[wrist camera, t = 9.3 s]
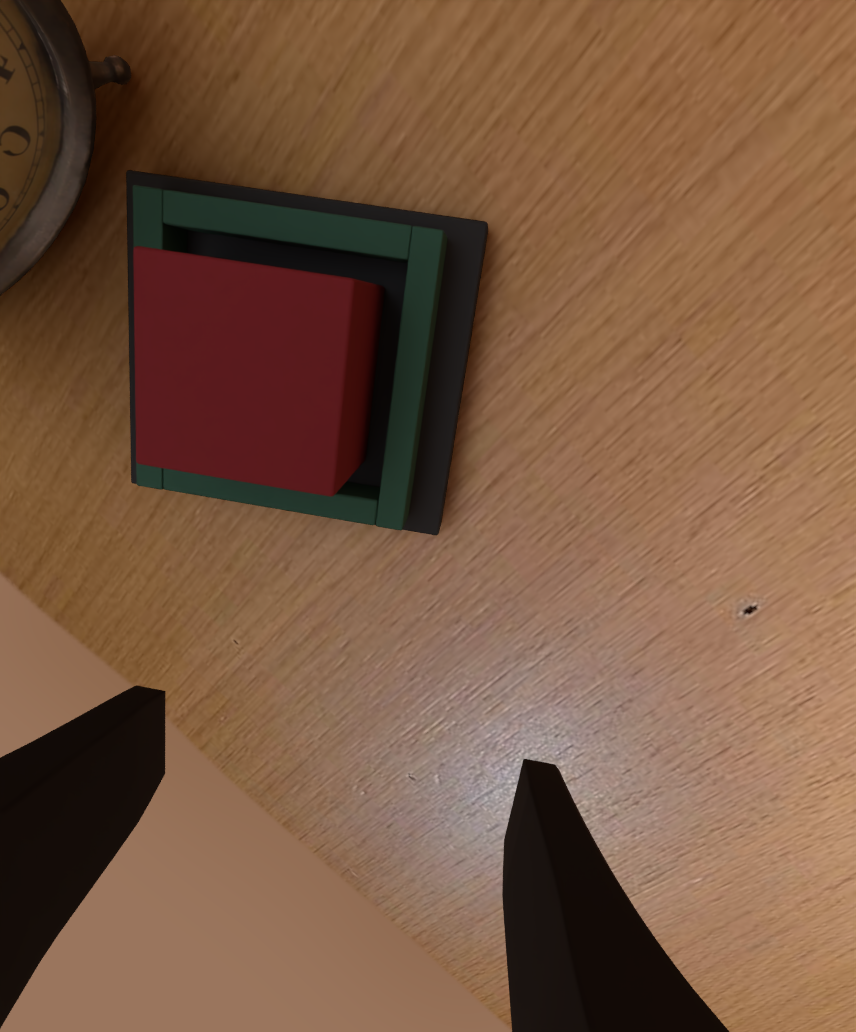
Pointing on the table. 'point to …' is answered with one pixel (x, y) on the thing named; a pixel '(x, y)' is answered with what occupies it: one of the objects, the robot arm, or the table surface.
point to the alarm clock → (43, 127)
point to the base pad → (403, 335)
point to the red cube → (253, 370)
